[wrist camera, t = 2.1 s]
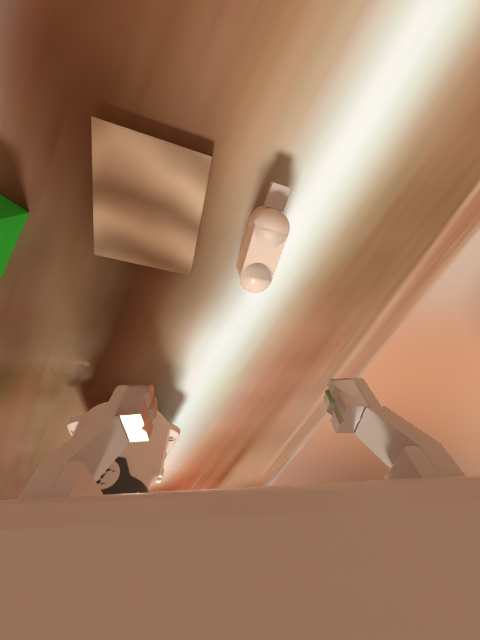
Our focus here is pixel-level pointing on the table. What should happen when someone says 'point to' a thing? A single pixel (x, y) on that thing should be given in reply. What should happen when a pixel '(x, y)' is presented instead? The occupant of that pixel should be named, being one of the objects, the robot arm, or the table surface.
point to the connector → (264, 240)
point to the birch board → (146, 198)
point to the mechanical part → (9, 228)
